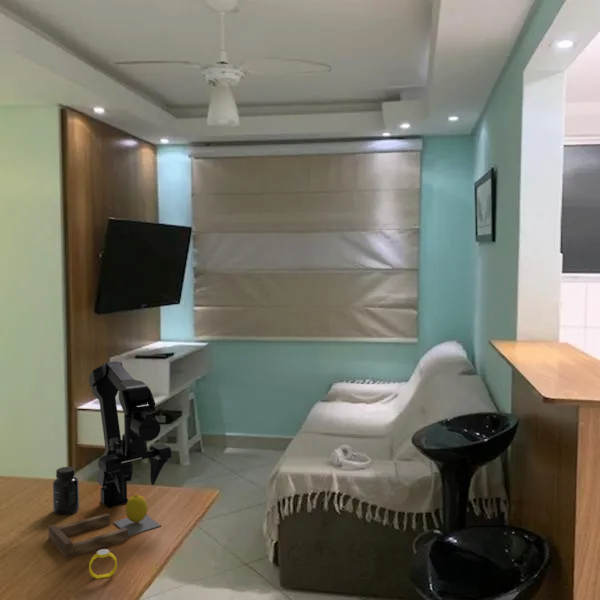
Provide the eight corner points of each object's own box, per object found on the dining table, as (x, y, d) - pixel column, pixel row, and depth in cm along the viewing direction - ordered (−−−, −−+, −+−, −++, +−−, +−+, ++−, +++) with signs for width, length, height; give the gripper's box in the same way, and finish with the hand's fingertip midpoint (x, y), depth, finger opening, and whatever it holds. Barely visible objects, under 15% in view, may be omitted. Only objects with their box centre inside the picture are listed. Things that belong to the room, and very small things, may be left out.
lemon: (151, 520, 167) (150, 492, 166) (139, 529, 162) (139, 499, 161) (133, 517, 169) (133, 489, 168) (121, 526, 163) (121, 497, 163)
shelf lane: (107, 522, 167) (107, 509, 166) (127, 539, 157) (127, 526, 156) (48, 539, 157) (48, 525, 156) (66, 558, 147) (66, 544, 146)
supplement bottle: (48, 511, 173) (47, 470, 172) (70, 503, 179) (69, 463, 178) (62, 518, 169) (61, 475, 168) (84, 509, 174) (83, 468, 174)
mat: (144, 514, 172) (144, 513, 172) (160, 526, 164) (160, 525, 164) (113, 523, 166) (113, 521, 166) (129, 536, 158) (129, 535, 158)
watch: (116, 573, 141) (117, 547, 141) (116, 579, 138) (118, 553, 138) (88, 575, 139) (89, 549, 139) (88, 581, 136) (89, 555, 136)
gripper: (153, 419, 175) (154, 472, 176) (89, 431, 163) (90, 488, 164) (172, 427, 167) (173, 483, 168) (106, 440, 155) (107, 501, 156)
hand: (136, 488), depth 164 cm, fingers open, 9 cm apart
